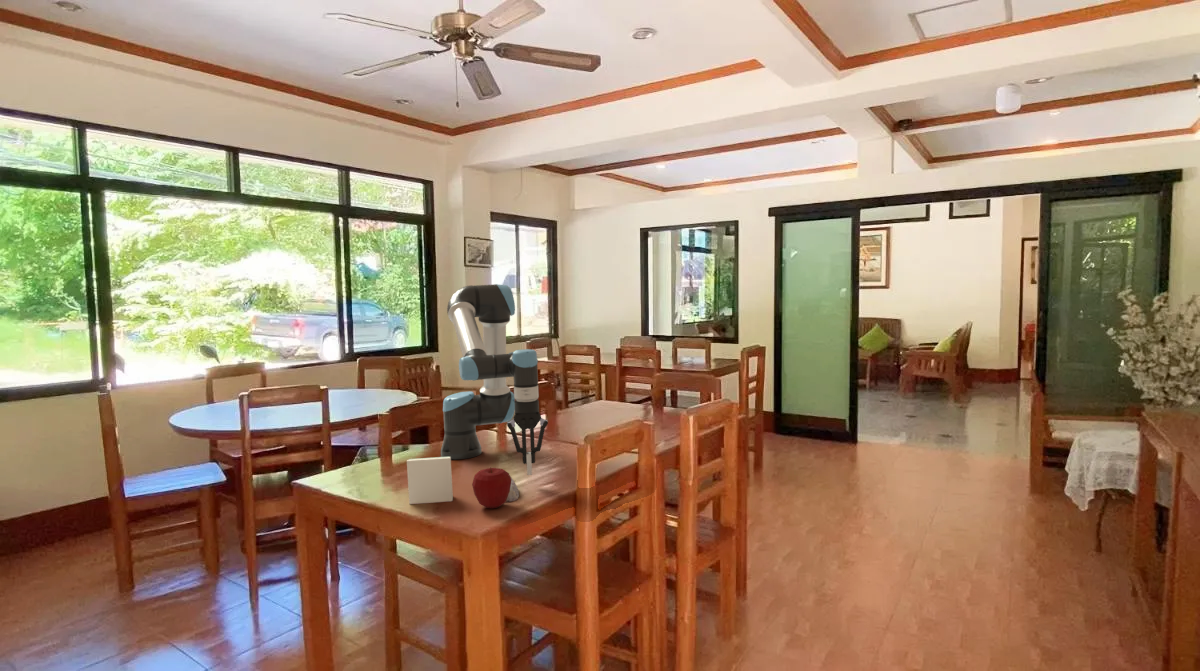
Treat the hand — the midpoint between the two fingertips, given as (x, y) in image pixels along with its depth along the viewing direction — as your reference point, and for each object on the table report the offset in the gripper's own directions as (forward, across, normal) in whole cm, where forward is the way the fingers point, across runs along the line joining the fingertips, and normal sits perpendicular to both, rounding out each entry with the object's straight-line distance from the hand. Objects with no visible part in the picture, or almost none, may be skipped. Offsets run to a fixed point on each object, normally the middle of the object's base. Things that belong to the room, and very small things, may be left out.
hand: (529, 473), depth 199 cm
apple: (+4, -10, -16) cm, 20 cm away
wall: (+4, -29, -8) cm, 31 cm away
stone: (+5, -9, -5) cm, 11 cm away
